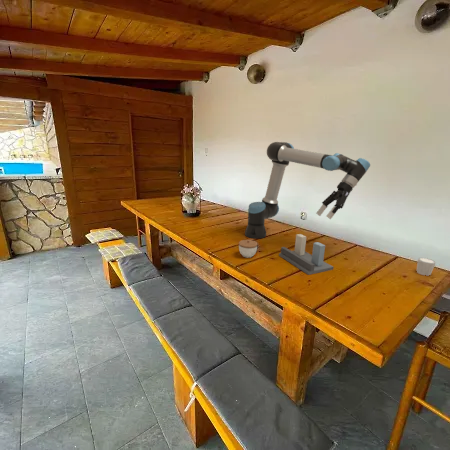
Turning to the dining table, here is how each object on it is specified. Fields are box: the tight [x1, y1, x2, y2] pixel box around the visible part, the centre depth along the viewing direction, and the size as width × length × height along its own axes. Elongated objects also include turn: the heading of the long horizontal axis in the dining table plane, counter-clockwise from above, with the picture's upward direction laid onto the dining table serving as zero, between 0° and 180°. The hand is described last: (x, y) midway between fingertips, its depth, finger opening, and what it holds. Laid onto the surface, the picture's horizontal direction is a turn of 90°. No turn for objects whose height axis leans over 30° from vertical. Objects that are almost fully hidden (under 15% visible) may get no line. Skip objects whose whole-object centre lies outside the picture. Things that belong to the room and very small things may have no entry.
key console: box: [278, 246, 334, 275], centre depth 132 cm, size 25×16×5 cm, turn 22°
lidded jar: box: [238, 239, 258, 259], centre depth 139 cm, size 11×11×9 cm
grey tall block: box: [311, 241, 326, 266], centre depth 126 cm, size 5×3×11 cm, turn 22°
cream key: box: [294, 233, 307, 256], centre depth 138 cm, size 5×3×11 cm, turn 22°
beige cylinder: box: [416, 257, 437, 277], centre depth 122 cm, size 7×7×7 cm
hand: (322, 216), depth 136 cm, fingers open, 13 cm apart
